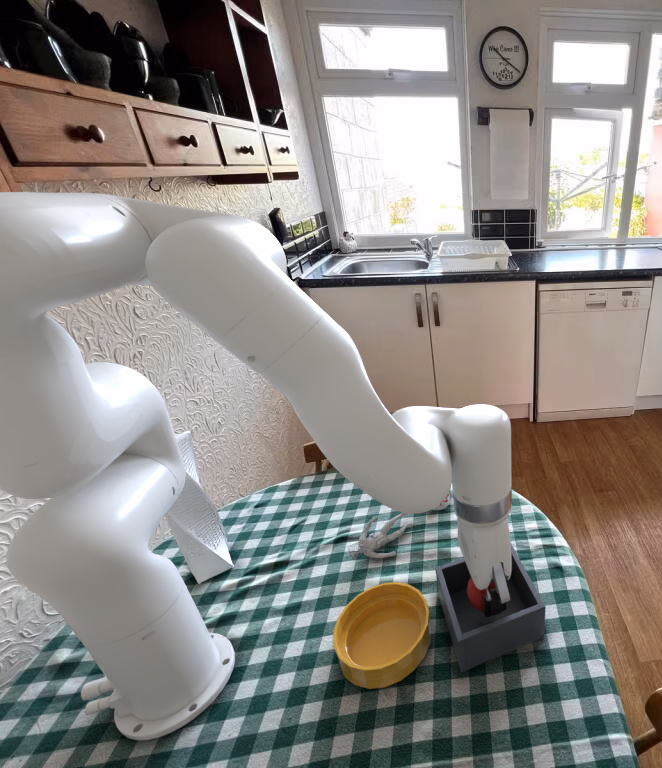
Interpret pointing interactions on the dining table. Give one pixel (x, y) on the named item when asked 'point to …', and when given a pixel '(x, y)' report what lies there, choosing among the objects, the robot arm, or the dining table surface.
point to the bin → (495, 633)
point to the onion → (477, 595)
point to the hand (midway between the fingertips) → (487, 592)
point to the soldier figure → (378, 539)
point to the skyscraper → (197, 521)
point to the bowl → (382, 635)
